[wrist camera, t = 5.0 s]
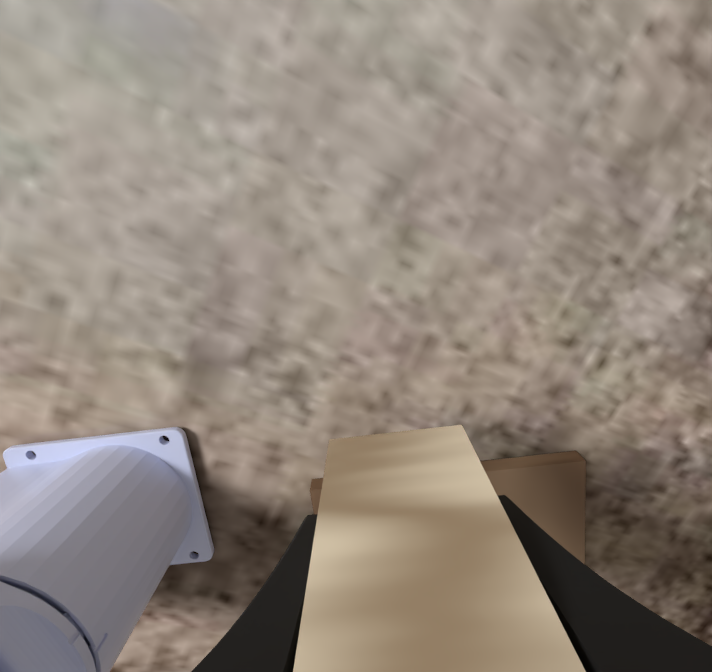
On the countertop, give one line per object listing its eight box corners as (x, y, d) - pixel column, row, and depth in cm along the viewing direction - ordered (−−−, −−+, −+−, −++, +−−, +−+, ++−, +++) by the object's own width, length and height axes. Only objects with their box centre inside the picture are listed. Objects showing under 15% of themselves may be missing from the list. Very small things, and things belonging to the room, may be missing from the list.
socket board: (357, 749, 27) (357, 822, 24) (311, 479, 22) (303, 523, 19) (574, 730, 27) (606, 802, 23) (575, 450, 22) (615, 490, 19)
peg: (347, 549, 14) (327, 967, 6) (329, 439, 13) (277, 768, 5) (469, 537, 14) (613, 952, 6) (461, 424, 13) (621, 743, 5)
